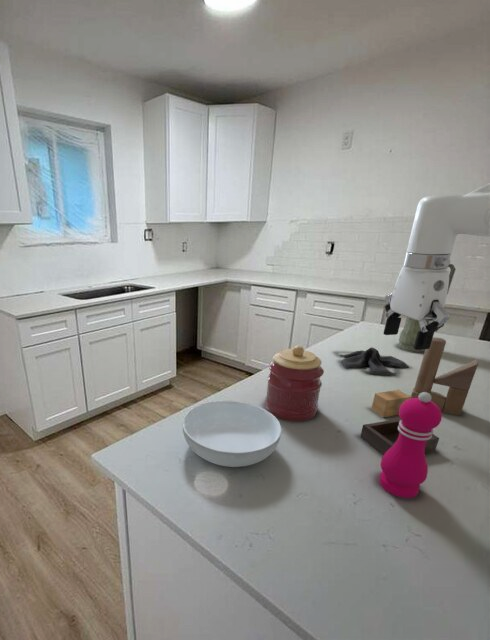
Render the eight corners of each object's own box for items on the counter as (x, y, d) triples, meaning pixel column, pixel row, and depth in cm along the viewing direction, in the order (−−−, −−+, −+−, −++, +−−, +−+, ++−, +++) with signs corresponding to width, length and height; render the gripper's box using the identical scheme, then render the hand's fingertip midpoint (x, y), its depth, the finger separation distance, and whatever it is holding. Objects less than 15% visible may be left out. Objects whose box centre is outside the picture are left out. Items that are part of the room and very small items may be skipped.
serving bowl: (295, 447, 80) (299, 420, 77) (242, 498, 66) (245, 467, 63) (219, 414, 93) (220, 390, 90) (162, 450, 80) (161, 424, 77)
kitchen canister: (260, 415, 92) (266, 351, 85) (269, 393, 103) (275, 335, 95) (314, 427, 87) (326, 359, 80) (318, 402, 97) (329, 341, 90)
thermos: (429, 356, 125) (460, 250, 111) (390, 349, 132) (415, 248, 118) (432, 348, 131) (462, 247, 117) (395, 342, 138) (419, 246, 124)
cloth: (411, 363, 120) (416, 346, 117) (397, 382, 107) (402, 363, 105) (341, 348, 134) (344, 332, 131) (322, 363, 121) (324, 346, 119)
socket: (402, 430, 85) (406, 417, 83) (434, 452, 77) (439, 438, 75) (359, 438, 82) (362, 424, 81) (388, 461, 75) (392, 446, 73)
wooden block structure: (459, 416, 89) (483, 348, 82) (408, 404, 96) (427, 340, 88) (460, 410, 92) (483, 344, 85) (410, 398, 98) (428, 335, 91)
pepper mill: (428, 503, 64) (463, 404, 56) (383, 498, 65) (411, 401, 57) (410, 475, 70) (439, 384, 62) (370, 472, 72) (393, 381, 64)
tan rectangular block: (393, 406, 95) (398, 389, 93) (406, 414, 91) (411, 396, 89) (370, 410, 93) (374, 393, 91) (382, 418, 90) (387, 400, 88)
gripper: (480, 267, 66) (452, 354, 73) (412, 256, 82) (394, 328, 89) (442, 269, 65) (417, 356, 72) (380, 257, 81) (365, 330, 88)
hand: (404, 341), depth 80 cm, fingers open, 9 cm apart
